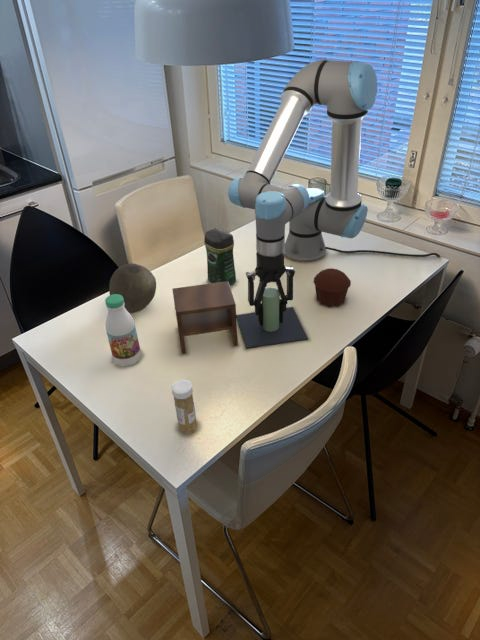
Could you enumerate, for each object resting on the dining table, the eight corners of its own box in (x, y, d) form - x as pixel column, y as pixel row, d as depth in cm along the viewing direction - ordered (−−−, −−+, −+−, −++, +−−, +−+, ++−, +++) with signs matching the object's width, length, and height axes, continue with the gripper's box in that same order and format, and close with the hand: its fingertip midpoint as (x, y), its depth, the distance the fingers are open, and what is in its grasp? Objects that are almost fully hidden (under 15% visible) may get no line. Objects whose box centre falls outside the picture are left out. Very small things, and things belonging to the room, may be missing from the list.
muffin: (356, 300, 156) (359, 273, 150) (332, 314, 150) (334, 286, 144) (328, 285, 163) (330, 259, 157) (304, 298, 158) (306, 271, 152)
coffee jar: (240, 282, 167) (238, 232, 156) (222, 291, 163) (219, 241, 152) (221, 272, 173) (218, 223, 162) (204, 281, 169) (199, 231, 158)
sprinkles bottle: (200, 431, 115) (194, 389, 107) (181, 437, 114) (174, 395, 106) (194, 417, 118) (188, 376, 110) (176, 423, 117) (169, 381, 109)
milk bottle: (110, 355, 139) (94, 295, 127) (136, 345, 142) (123, 287, 130) (118, 370, 133) (103, 310, 121) (145, 360, 136) (133, 300, 124)
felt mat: (292, 308, 153) (292, 306, 153) (307, 339, 141) (308, 338, 140) (236, 316, 151) (235, 315, 151) (246, 349, 138) (246, 347, 138)
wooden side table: (230, 321, 149) (228, 280, 141) (237, 345, 140) (235, 304, 131) (178, 328, 147) (172, 288, 139) (181, 354, 138) (175, 312, 129)
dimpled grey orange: (133, 327, 149) (124, 285, 140) (105, 310, 156) (95, 269, 148) (168, 306, 157) (161, 265, 148) (139, 291, 165) (131, 251, 156)
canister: (277, 320, 148) (277, 286, 141) (281, 330, 144) (281, 296, 137) (260, 322, 147) (259, 288, 140) (264, 332, 143) (263, 298, 136)
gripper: (299, 240, 135) (297, 310, 149) (234, 248, 133) (237, 318, 146) (307, 253, 129) (304, 324, 143) (239, 262, 127) (242, 333, 140)
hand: (270, 321), depth 144 cm, fingers closed on canister, 5 cm apart
